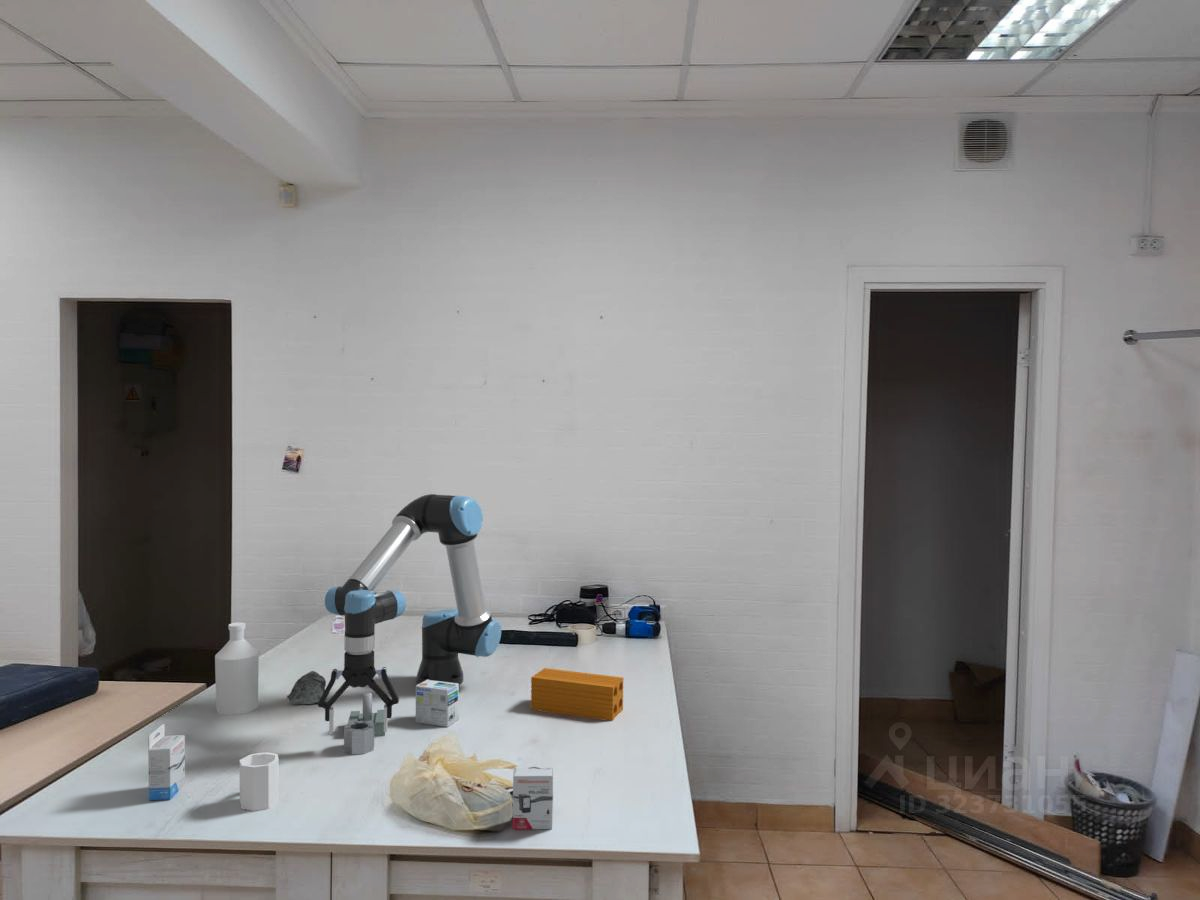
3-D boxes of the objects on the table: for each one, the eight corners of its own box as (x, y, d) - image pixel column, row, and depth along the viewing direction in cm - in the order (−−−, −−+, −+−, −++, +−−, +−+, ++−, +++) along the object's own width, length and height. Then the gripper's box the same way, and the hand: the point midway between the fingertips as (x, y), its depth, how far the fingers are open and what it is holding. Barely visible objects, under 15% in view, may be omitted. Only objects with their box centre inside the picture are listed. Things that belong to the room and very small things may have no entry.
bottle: (236, 699, 257) (235, 618, 256) (267, 704, 253) (267, 621, 252) (206, 712, 246) (205, 627, 245) (238, 717, 242) (238, 631, 241)
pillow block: (386, 722, 239) (387, 687, 239) (384, 735, 229) (384, 699, 229) (350, 724, 237) (350, 689, 237) (346, 738, 227) (346, 701, 227)
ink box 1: (170, 800, 190) (170, 735, 189) (147, 801, 189) (147, 736, 189) (186, 784, 198) (185, 722, 198) (164, 784, 198) (163, 722, 197)
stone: (303, 673, 250) (320, 663, 260) (279, 692, 252) (297, 681, 262) (322, 699, 250) (339, 687, 260) (299, 718, 252) (316, 706, 261)
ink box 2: (511, 830, 178) (512, 775, 178) (513, 819, 183) (513, 765, 183) (552, 829, 179) (553, 774, 178) (552, 818, 184) (553, 765, 183)
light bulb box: (459, 719, 242) (459, 682, 242) (447, 727, 236) (448, 689, 235) (426, 714, 246) (427, 678, 245) (414, 722, 239) (414, 685, 239)
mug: (272, 811, 185) (272, 767, 185) (232, 811, 185) (232, 767, 185) (290, 787, 197) (290, 745, 197) (252, 787, 197) (252, 745, 197)
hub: (375, 742, 225) (375, 720, 224) (373, 753, 217) (373, 730, 217) (346, 744, 223) (346, 721, 223) (343, 755, 216) (343, 732, 216)
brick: (623, 710, 252) (623, 677, 252) (612, 721, 243) (612, 687, 242) (544, 699, 261) (544, 667, 260) (530, 710, 251) (531, 677, 251)
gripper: (409, 645, 225) (408, 724, 226) (311, 648, 221) (310, 728, 221) (408, 653, 218) (407, 734, 219) (307, 656, 213) (306, 739, 214)
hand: (358, 731), depth 220 cm, fingers open, 13 cm apart
